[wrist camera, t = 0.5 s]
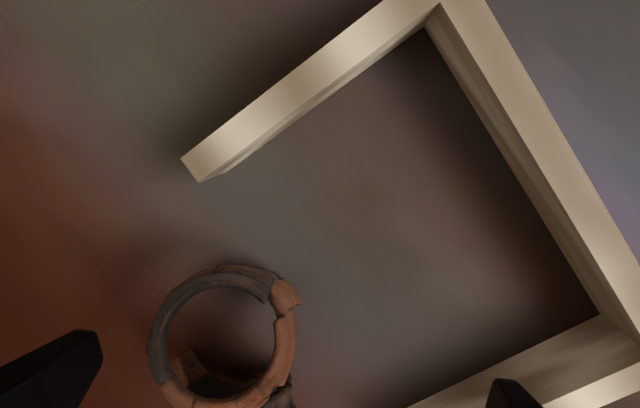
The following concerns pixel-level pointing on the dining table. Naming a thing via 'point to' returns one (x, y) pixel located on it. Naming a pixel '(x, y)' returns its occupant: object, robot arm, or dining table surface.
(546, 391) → the birch bracket
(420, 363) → the dining table surface
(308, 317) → the dining table surface
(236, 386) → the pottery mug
